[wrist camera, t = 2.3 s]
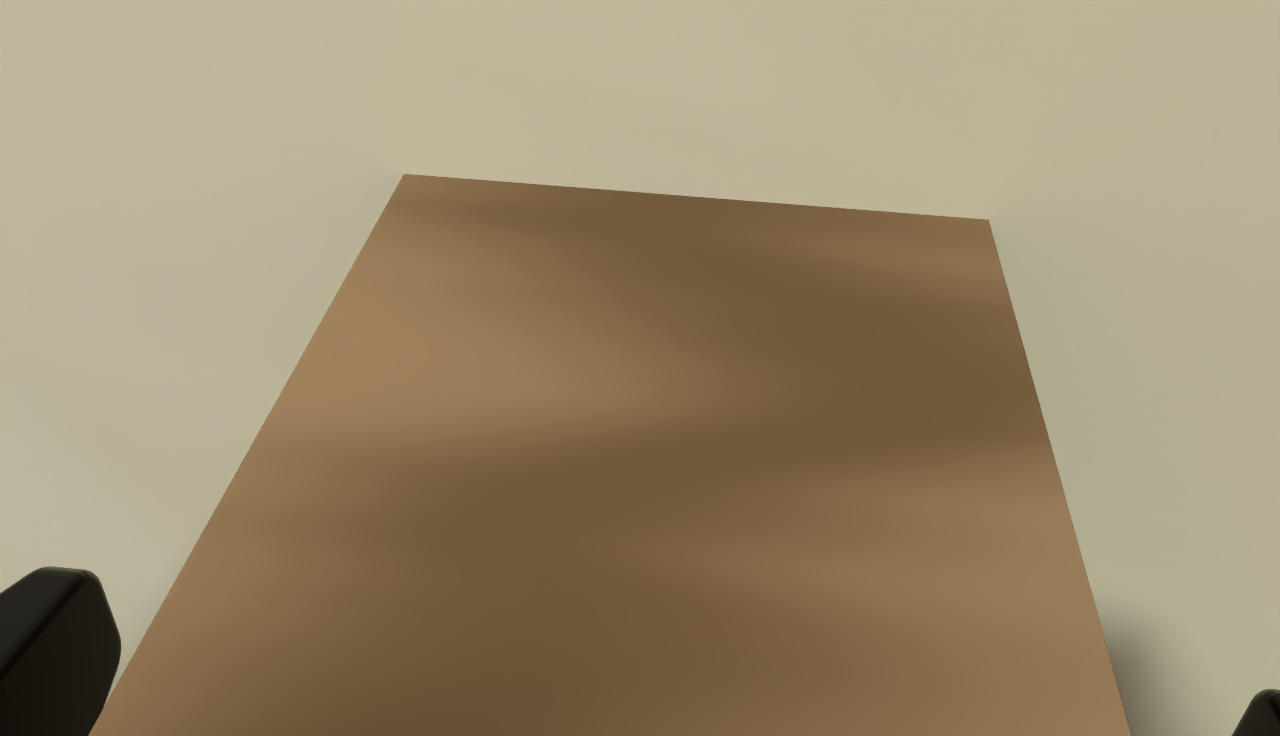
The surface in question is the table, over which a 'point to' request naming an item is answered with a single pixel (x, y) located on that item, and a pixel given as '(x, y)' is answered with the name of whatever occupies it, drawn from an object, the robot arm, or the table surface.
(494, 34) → the table surface
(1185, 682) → the table surface
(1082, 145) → the table surface
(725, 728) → the walnut block
